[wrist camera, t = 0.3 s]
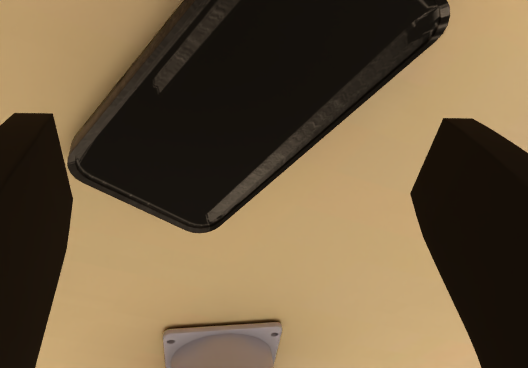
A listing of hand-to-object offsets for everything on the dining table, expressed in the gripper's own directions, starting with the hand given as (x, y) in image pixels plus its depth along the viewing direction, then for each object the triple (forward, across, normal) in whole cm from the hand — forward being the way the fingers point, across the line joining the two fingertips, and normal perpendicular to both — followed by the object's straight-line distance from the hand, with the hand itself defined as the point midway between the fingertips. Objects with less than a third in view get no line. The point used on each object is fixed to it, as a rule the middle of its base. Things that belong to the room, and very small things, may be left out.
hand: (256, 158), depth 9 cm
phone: (+10, -1, +4) cm, 11 cm away
